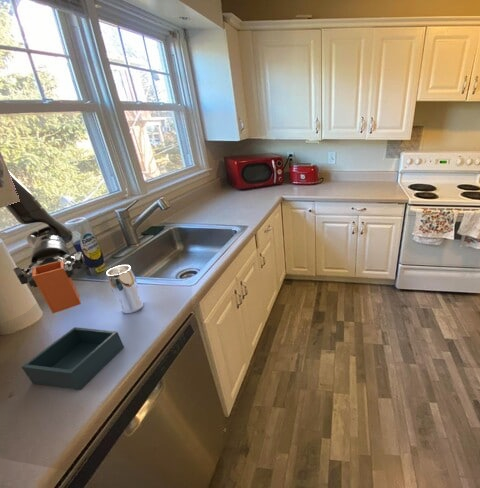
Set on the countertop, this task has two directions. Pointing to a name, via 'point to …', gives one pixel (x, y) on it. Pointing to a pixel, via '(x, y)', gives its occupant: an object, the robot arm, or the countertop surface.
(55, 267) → the small bin
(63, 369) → the big bin
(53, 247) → the robot arm
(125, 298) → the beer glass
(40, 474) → the countertop surface
